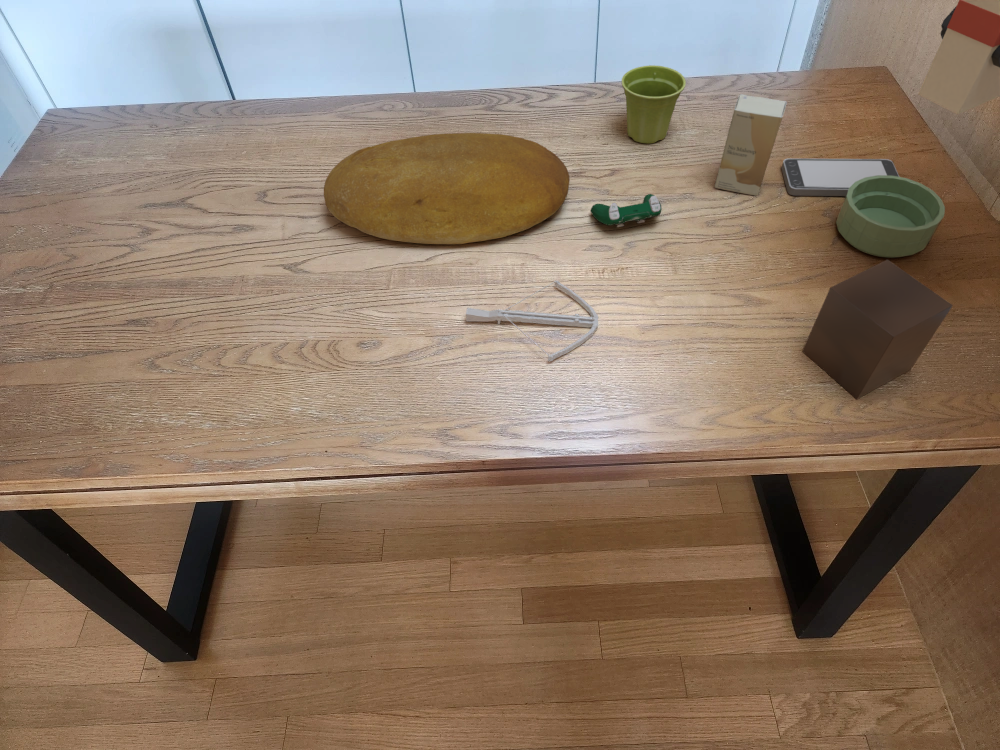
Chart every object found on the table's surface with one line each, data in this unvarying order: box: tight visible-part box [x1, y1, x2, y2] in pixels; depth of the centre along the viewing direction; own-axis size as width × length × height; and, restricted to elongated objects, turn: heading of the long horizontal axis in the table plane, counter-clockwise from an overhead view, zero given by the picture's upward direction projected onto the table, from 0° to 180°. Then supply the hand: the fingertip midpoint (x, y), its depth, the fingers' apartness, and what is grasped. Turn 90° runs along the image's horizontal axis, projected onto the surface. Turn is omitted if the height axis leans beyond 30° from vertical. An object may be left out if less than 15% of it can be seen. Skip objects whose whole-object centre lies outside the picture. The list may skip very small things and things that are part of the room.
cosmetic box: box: [714, 93, 788, 197], centre depth 91 cm, size 6×4×12 cm
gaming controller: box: [590, 193, 662, 228], centre depth 91 cm, size 9×4×6 cm
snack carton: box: [917, 0, 1000, 116], centre depth 60 cm, size 5×6×11 cm
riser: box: [802, 259, 953, 400], centre depth 70 cm, size 8×8×10 cm
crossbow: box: [465, 280, 599, 362], centre depth 80 cm, size 16×13×2 cm
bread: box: [323, 132, 570, 245], centre depth 92 cm, size 18×35×10 cm, turn 93°
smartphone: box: [780, 158, 900, 197], centre depth 94 cm, size 7×1×15 cm
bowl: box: [835, 175, 946, 259], centre depth 85 cm, size 11×11×5 cm
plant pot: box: [621, 64, 687, 145], centre depth 102 cm, size 9×9×9 cm
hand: (970, 49), depth 60 cm, fingers closed on snack carton, 4 cm apart
